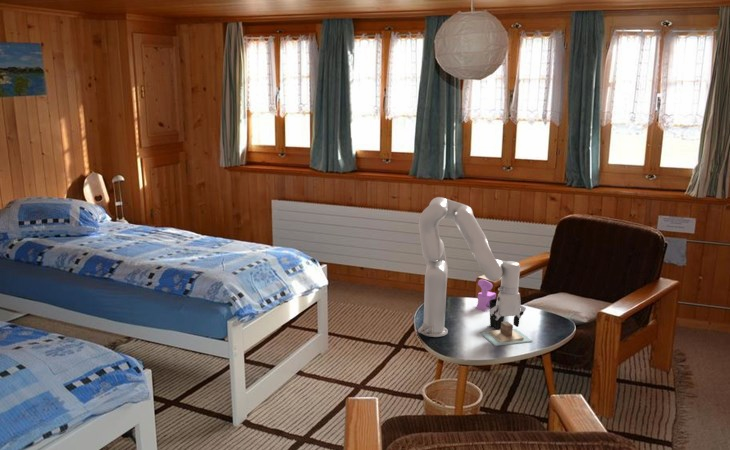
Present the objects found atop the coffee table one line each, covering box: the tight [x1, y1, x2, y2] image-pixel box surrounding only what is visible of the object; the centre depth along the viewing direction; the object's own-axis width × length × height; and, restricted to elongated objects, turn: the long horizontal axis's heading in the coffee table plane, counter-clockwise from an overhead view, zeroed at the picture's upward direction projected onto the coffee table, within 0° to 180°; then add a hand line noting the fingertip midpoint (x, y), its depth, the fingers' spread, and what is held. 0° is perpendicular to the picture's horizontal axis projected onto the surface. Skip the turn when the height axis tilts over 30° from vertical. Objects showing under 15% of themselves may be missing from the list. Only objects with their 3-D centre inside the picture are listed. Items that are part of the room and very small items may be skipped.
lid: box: [488, 320, 524, 342], centre depth 288 cm, size 11×11×6 cm
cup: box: [489, 298, 505, 330], centre depth 300 cm, size 8×8×12 cm
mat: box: [480, 328, 533, 347], centre depth 288 cm, size 18×14×1 cm
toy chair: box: [475, 279, 497, 312], centre depth 325 cm, size 8×9×15 cm
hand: (506, 326), depth 287 cm, fingers open, 9 cm apart
